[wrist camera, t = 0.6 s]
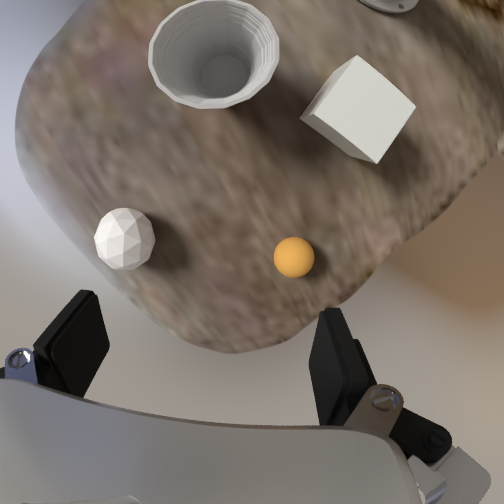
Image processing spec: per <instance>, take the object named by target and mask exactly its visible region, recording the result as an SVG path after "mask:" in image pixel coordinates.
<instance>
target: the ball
mask: <svg viewBox="0 0 504 504" xmlns="http://www.w3.org/2000/svg"><path fill="white" fill-rule="evenodd" d="M274 263H275V266H276V268H277V269H278V270H279V272H281V273H282V274H283V275H285V276H287V277H292V278H296V277H301V276H303V275H305V274H306V273H307V272H308V271H309V270H310V269H311V268H312V266H313V263H314V252H313V249H312V247H311V245H310V244H309V243H308V242H307V241H306V240H304V239H302V238H299V237H289V238H286V239H284V240H282V241H281V242H280V243H279V244H278V245H277V247H276V249H275V252H274Z"/></svg>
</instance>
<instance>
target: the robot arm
mask: <svg viewBox="0 0 504 504" xmlns="http://www.w3.org/2000/svg"><path fill="white" fill-rule="evenodd" d="M359 1H360V2H362V3H364V4H366V5H367V6H369V7H372V8H374V9H376V10H379V11H383V12H387V13H404V12H407V11H409V10H411V9H412V8H413V7H415V6H416V4H417V3H418V1H419V0H359ZM33 347H34V351H33V352H32V351H31V350H29V349H27V348H19V349H16V350H14V351H12V352H11V353H10V354H9V355H8V356H7V358H6V359H5V367H3V368H0V504H422V501H421V498H420V495H419V491H418V488H419V489H420V490H421V491H422V492H423V494H424V495H425V499H426V502H425V504H479V502H480V501H481V499H482V498H483V497H484V495H485V494H486V492H487V491H488V489H489V487H490V484H491V478H490V474H489V473H488V472H487V470H485V469H484V468H483V467H482V466H481V465H480V464H478V463H477V462H476V461H475V460H474V459H472V458H471V457H470V456H469V455H468V454H467V453H465V452H464V451H463V450H462V449H461V448H459V447H457V448H454V447H453V446H452V437H451V435H450V433H449V432H448V431H447V430H446V429H445V428H444V427H442V426H440V425H438V424H436V423H434V422H432V421H430V420H427V419H426V418H423V417H421V416H419V415H417V414H415V413H413V412H411V411H409V410H407V409H406V408H403V403H404V401H403V397H402V395H401V393H400V392H399V391H398V390H397V389H395V388H394V387H391V386H389V385H384V384H379V385H377V382H376V380H375V378H374V375H373V373H372V370H371V368H370V365H369V363H368V360H367V358H366V356H365V353H364V351H363V348H362V346H361V344H360V342H359V340H358V339H353V338H352V335H351V333H350V330H349V328H348V325H347V323H346V321H345V318H344V316H343V314H342V311H341V309H340V308H325V310H324V311H321V312H320V315H319V319H318V324H317V328H316V333H315V337H314V341H313V346H312V350H311V354H310V358H309V370H310V375H311V380H312V386H313V391H314V396H315V401H316V407H317V413H318V418H319V424H320V426H272V425H243V424H227V423H215V422H205V421H195V420H188V419H180V418H173V417H167V416H161V415H155V414H149V413H143V412H138V411H133V410H129V409H124V408H120V407H115V406H111V405H107V404H103V403H99V402H95V401H91V400H88V399H84V398H83V397H84V395H85V393H86V391H87V389H88V387H89V386H90V384H91V382H92V380H93V378H94V376H95V374H96V372H97V370H98V368H99V367H100V365H101V363H102V361H103V359H104V358H105V356H106V354H107V352H108V350H109V347H110V343H109V339H108V336H107V332H106V328H105V325H104V321H103V317H102V313H101V309H100V305H99V300H98V297H97V295H95V294H94V292H93V291H90V290H80V291H79V292H78V293H77V294H76V295H75V296H74V297H73V299H71V301H70V302H69V303H68V304H67V305H66V306H65V307H64V309H63V310H62V311H61V312H60V313H59V314H58V315H57V317H56V318H55V319H54V320H53V321H52V323H51V324H50V325H49V326H48V327H47V328H46V330H45V331H44V332H43V333H42V334H41V336H40V337H39V338H38V339H37V341H36V342H35V343H34V344H33ZM416 482H417V483H418V484H419V486H418V488H417V484H416Z"/></svg>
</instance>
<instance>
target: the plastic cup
mask: <svg viewBox="0 0 504 504" xmlns="http://www.w3.org/2000/svg"><path fill="white" fill-rule="evenodd" d="M278 62H279V38H278V36H277V34H276V32H275V30H274V28H273V26H272V24H271V22H270V20H269V19H268V18H267V17H266V16H265V15H263V14H262V13H261V12H260V11H258V10H257V9H256V8H255V7H253V6H252V5H250V4H247V3H244V2H241V1H238V0H197V1H194V2H191V3H189V4H186V5H184V6H181V7H179V8H178V9H176V10H175V11H174V12H173V13H172V14H170V15H169V16H168V17H167V18H166V19H164V20H163V21H162V22H161V23H160V25H159V26H158V28H157V30H156V32H155V34H154V36H153V38H152V40H151V42H150V43H149V59H148V66H149V69H150V71H151V73H152V76H153V78H154V80H155V83H156V85H157V86H158V87H159V88H160V89H161V90H162V91H164V92H165V93H166V94H167V95H168V96H169V97H171V98H172V99H173V100H174V101H176V102H179V103H182V104H185V105H188V106H191V107H194V108H197V109H209V108H227V107H229V106H232V105H234V104H237V103H239V102H242V101H245V100H247V99H250V98H251V97H252V96H253V95H255V94H256V93H257V92H258V91H259V90H260V89H261V88H262V87H264V86H265V85H266V84H267V83H268V82H269V81H270V79H271V77H272V75H273V72H274V70H275V68H276V66H277V64H278Z"/></svg>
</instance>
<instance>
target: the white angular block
mask: <svg viewBox="0 0 504 504" xmlns="http://www.w3.org/2000/svg"><path fill="white" fill-rule="evenodd" d="M415 107H416V106H415V105H414V104H413V103H412V102H411V101H410V100H409V99H408V98H407V97H406V96H405V95H403V94H402V93H401V92H400V91H399V90H398V89H397V88H396V87H395V86H394V85H393V84H391V83H390V82H389V81H388V80H387V79H386V78H385V77H383V76H382V75H381V74H380V73H379V72H378V71H376V70H375V69H374V68H373V67H371V66H370V65H369V64H368V63H367V62H365V61H364V60H363V59H361V58H360V57H359V56H358V55H356V56H355V57H353V58H352V59H350V60H349V61H348V62H346V63H345V64H343V65H342V66H341V67H339V68H338V69H336V70H335V71H334V72H333V73H332V74H331V75H330V77H329V78H328V79H327V81H326V82H325V83H324V85H323V86H322V88H321V89H320V90H319V92H318V93H317V94H316V96H315V97H314V98H313V100H312V101H311V103H310V104H309V105H308V107H307V108H306V109H305V111H304V112H303V114H302V115H301V116H300V118H299V119H300V120H302V121H303V122H305V123H306V124H307V125H309V126H310V127H312V128H313V129H314V130H316V131H317V132H319V133H320V134H321V135H323V136H324V137H325V138H327V139H328V140H329V141H331V142H332V143H333V144H335V145H336V146H337V147H339V148H340V149H341V150H342V151H344V152H345V153H346V154H347V155H349V156H351V157H355V158H358V159H362V160H365V161H369V162H372V163H375V164H377V163H378V162H379V161H380V159H381V158H382V156H383V155H384V153H385V152H386V151H387V149H388V148H389V146H390V145H391V143H392V142H393V140H394V139H395V137H396V136H397V135H398V133H399V132H400V130H401V129H402V127H403V126H404V124H405V123H406V121H407V120H408V118H409V117H410V115H411V114H412V112H413V111H414V109H415Z"/></svg>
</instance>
